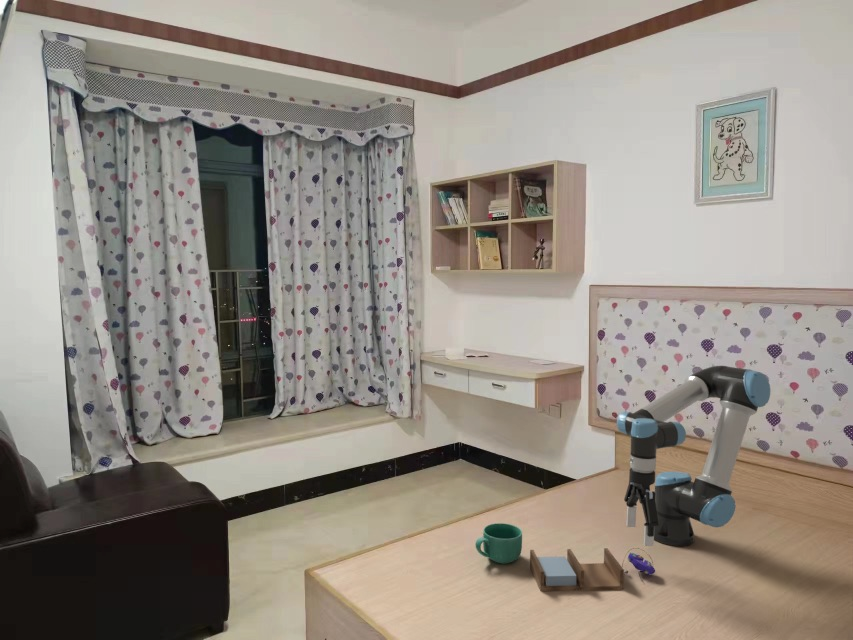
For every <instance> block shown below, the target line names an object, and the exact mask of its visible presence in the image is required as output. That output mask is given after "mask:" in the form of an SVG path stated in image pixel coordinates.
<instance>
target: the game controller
mask: <svg viewBox="0 0 853 640" xmlns="http://www.w3.org/2000/svg"><path fill="white" fill-rule="evenodd" d="M633 549H635V547H634V548H632V550H633ZM638 549H639V550H641V551H644V552H645V553H646V551H645V550H643V549H642V548H638V547H637V550H638ZM630 551H631V549H629V550H628V551H627V553H626V554H625V556H627V555H628V557H627V562H630V563H631V565H632V566H633V567H634V568H635V570H637V572H638V573H641V572H642V573H644V574H645V575H650V576H651V575H654V574H655V573H656V568H654V565H653V564H654V563H653V560H652V557H651V556H650V555H648V557H649V558H650V559H651V562H650V561H649V560H646V559H644V557H643V556H642V555H641V554H637V553H634V552H630ZM628 553H629V554H628ZM625 559H626V557H624V559H623V561H622V565H621V567H622V568H623V566H624V565H623V564H624V561H625ZM628 573H629V571H628V570H626V571H624V574H626V575H627V574H628ZM638 575H639V576H638V577H639V578H640V581H641V582H642V583H643V585H645V582H644V580H643V578H642V577H641V574H638Z"/></svg>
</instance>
